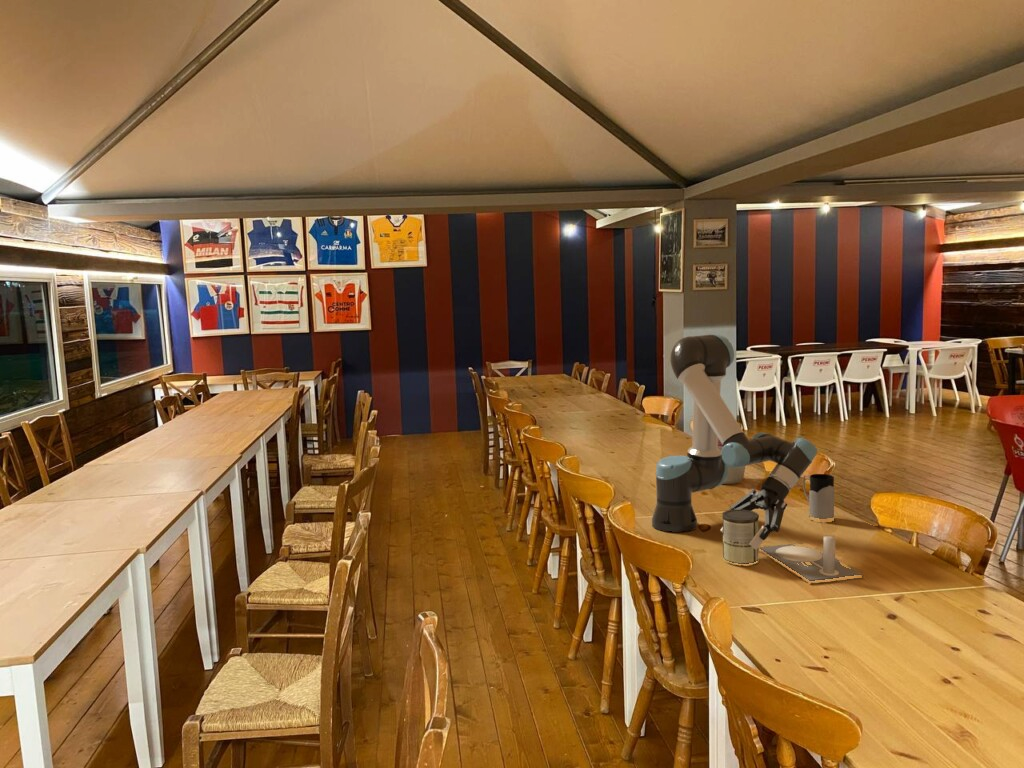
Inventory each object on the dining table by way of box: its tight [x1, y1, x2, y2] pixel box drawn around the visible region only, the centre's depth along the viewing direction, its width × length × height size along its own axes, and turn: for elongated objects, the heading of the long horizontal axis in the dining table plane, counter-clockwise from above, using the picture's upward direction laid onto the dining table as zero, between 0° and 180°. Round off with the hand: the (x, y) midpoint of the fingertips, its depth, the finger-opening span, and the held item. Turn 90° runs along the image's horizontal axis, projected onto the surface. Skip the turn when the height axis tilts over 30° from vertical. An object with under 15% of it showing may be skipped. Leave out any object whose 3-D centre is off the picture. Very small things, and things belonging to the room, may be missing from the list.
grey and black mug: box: [802, 473, 835, 519], centre depth 256 cm, size 9×14×15 cm, turn 15°
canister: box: [718, 438, 746, 485], centre depth 307 cm, size 18×18×21 cm
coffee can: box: [721, 508, 760, 564], centre depth 218 cm, size 10×10×14 cm
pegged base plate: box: [758, 535, 863, 581], centre depth 213 cm, size 16×27×11 cm, turn 10°
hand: (737, 539), depth 217 cm, fingers open, 13 cm apart
